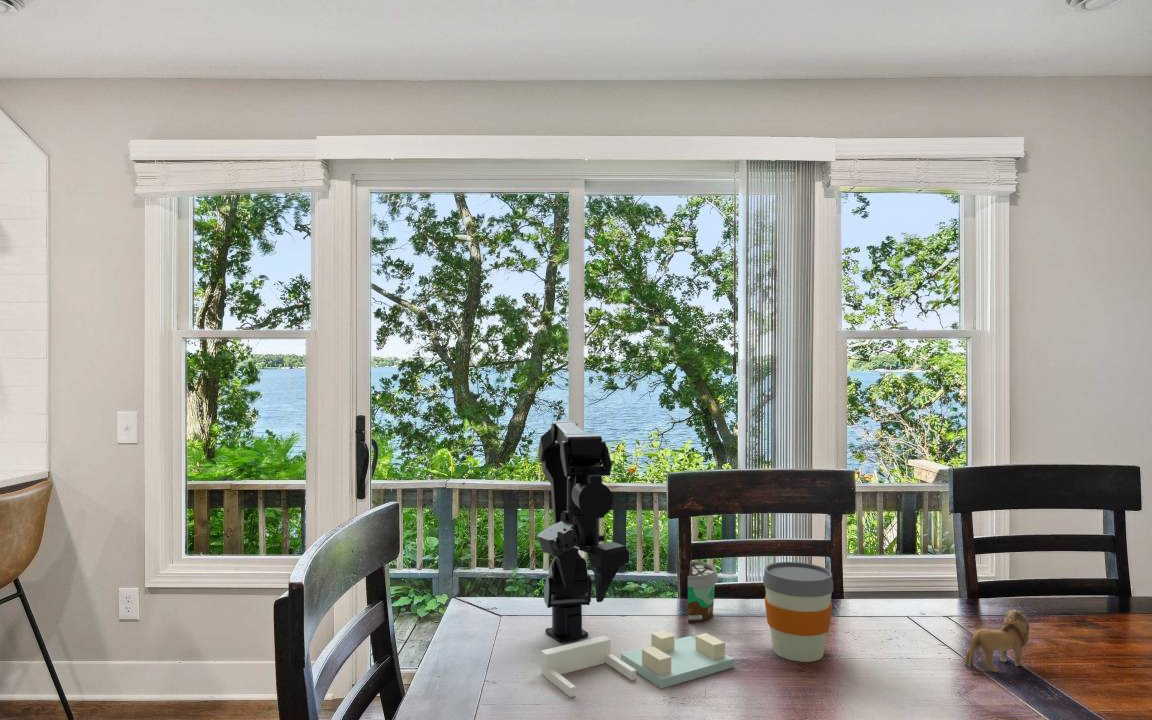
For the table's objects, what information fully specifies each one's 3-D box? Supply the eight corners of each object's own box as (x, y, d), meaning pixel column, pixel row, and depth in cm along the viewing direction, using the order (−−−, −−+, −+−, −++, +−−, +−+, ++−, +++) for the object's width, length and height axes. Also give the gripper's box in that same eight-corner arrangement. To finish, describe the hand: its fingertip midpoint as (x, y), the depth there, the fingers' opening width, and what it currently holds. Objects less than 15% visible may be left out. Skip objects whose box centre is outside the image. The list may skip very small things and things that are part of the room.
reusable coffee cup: (836, 644, 135) (836, 566, 135) (830, 671, 124) (830, 585, 124) (769, 634, 140) (769, 558, 140) (757, 658, 129) (757, 576, 129)
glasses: (541, 673, 123) (541, 650, 123) (604, 657, 129) (604, 635, 129) (570, 697, 114) (570, 672, 114) (636, 678, 121) (636, 655, 121)
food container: (718, 627, 144) (718, 578, 144) (687, 625, 145) (687, 576, 145) (718, 607, 156) (718, 561, 156) (690, 605, 157) (690, 560, 157)
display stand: (620, 661, 127) (620, 639, 127) (689, 643, 135) (689, 622, 135) (661, 688, 117) (661, 664, 117) (733, 667, 125) (733, 644, 125)
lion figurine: (1008, 652, 131) (1008, 604, 131) (1038, 663, 127) (1038, 613, 127) (956, 667, 125) (956, 616, 125) (984, 680, 120) (984, 627, 120)
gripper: (515, 502, 127) (515, 589, 127) (578, 521, 112) (578, 620, 112) (565, 495, 134) (565, 578, 134) (631, 512, 119) (631, 605, 119)
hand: (583, 594), depth 124 cm, fingers open, 9 cm apart
